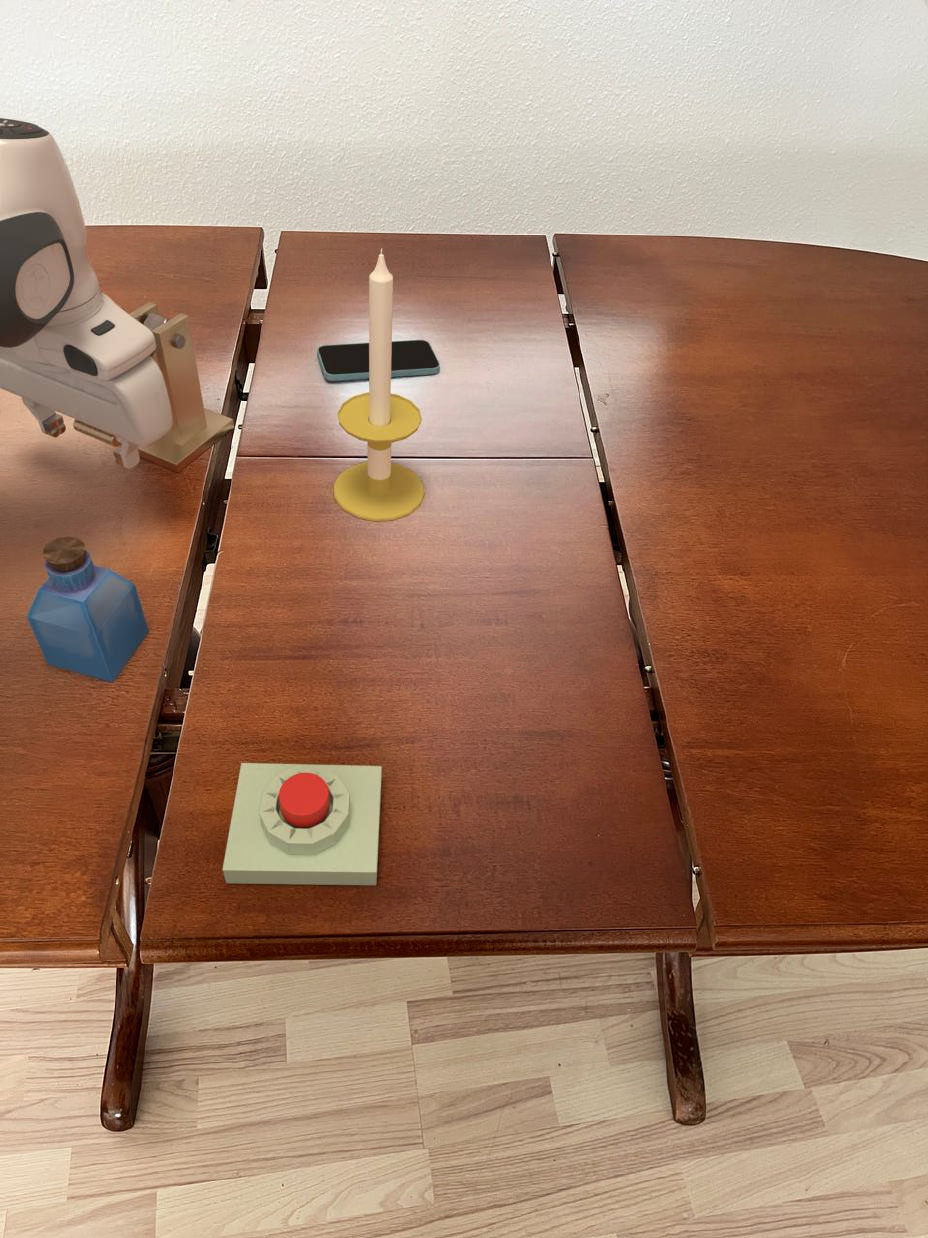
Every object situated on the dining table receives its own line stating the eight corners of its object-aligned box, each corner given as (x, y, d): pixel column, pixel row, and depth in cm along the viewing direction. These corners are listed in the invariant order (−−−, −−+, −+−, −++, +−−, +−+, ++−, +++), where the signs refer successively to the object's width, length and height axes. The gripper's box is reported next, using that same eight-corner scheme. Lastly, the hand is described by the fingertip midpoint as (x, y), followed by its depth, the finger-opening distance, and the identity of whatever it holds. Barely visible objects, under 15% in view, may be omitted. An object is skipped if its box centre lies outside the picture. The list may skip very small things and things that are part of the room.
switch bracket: (178, 473, 93) (152, 350, 82) (120, 448, 95) (87, 326, 84) (234, 427, 100) (217, 308, 89) (179, 405, 102) (155, 286, 91)
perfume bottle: (47, 664, 75) (4, 566, 66) (87, 614, 79) (51, 516, 70) (112, 682, 74) (77, 585, 65) (148, 631, 78) (120, 534, 69)
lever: (120, 451, 86) (107, 440, 84) (81, 435, 87) (67, 423, 85) (189, 336, 89) (178, 322, 86) (150, 322, 90) (139, 307, 88)
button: (277, 827, 62) (275, 815, 61) (283, 784, 65) (281, 771, 63) (327, 828, 62) (326, 816, 61) (331, 785, 65) (330, 772, 64)
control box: (225, 883, 63) (218, 858, 60) (244, 777, 69) (238, 749, 66) (376, 885, 64) (376, 861, 61) (381, 780, 70) (382, 753, 67)
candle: (347, 529, 90) (341, 281, 70) (322, 471, 96) (309, 228, 76) (437, 511, 93) (455, 269, 73) (407, 456, 99) (416, 218, 79)
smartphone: (442, 368, 110) (325, 375, 106) (441, 375, 111) (326, 383, 107) (427, 338, 115) (315, 345, 111) (427, 346, 115) (315, 352, 111)
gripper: (-63, 300, 76) (-12, 429, 86) (119, 371, 71) (150, 500, 81) (-7, 273, 80) (35, 400, 90) (169, 338, 75) (193, 465, 85)
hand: (91, 448), depth 86 cm, fingers open, 8 cm apart
